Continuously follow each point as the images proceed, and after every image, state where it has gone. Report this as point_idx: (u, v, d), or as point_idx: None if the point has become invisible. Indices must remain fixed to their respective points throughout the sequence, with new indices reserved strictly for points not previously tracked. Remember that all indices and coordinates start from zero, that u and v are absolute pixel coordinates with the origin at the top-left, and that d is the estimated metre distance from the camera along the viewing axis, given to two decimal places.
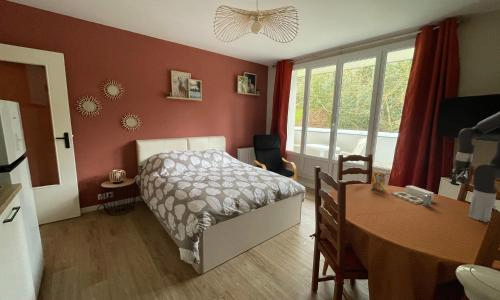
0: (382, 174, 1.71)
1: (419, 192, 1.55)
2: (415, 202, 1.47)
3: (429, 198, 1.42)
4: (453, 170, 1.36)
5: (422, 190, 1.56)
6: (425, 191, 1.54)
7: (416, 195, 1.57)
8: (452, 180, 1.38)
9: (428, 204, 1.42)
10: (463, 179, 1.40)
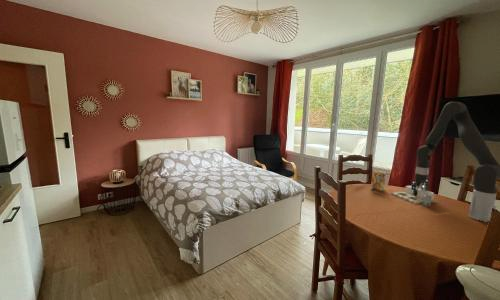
0: (382, 174, 1.71)
1: (419, 192, 1.55)
2: (415, 202, 1.47)
3: (429, 198, 1.42)
4: (413, 183, 1.56)
5: (422, 190, 1.56)
6: (425, 191, 1.54)
7: None
8: (414, 191, 1.58)
9: (428, 204, 1.42)
10: None
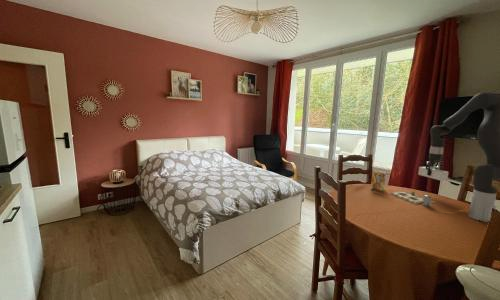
0: (382, 174, 1.71)
1: (433, 172, 1.56)
2: (415, 202, 1.47)
3: (429, 198, 1.42)
4: (427, 163, 1.56)
5: (436, 170, 1.56)
6: (439, 170, 1.54)
7: None
8: (428, 171, 1.58)
9: (428, 204, 1.42)
10: None
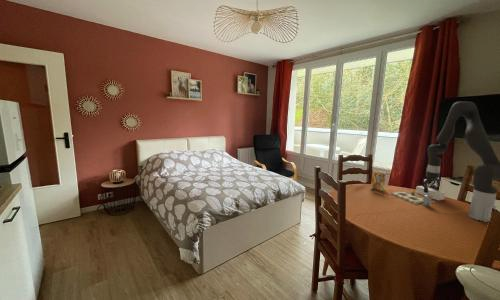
0: (382, 174, 1.71)
1: (430, 192, 1.58)
2: (415, 202, 1.47)
3: (429, 198, 1.42)
4: (424, 180, 1.58)
5: (433, 190, 1.59)
6: (436, 191, 1.57)
7: None
8: (424, 189, 1.60)
9: (428, 204, 1.42)
10: (434, 188, 1.62)
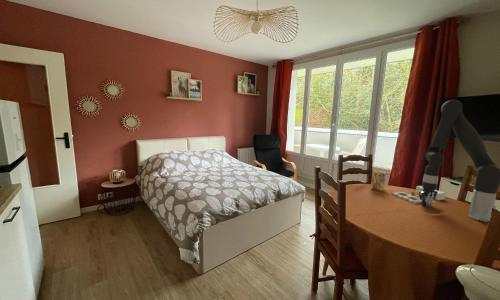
0: (382, 174, 1.71)
1: None
2: (415, 202, 1.47)
3: (429, 198, 1.42)
4: (420, 193, 1.41)
5: None
6: None
7: None
8: (422, 202, 1.43)
9: (428, 204, 1.42)
10: None
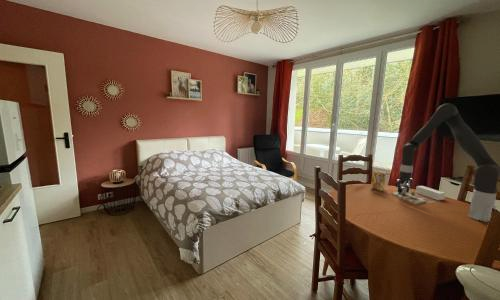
0: (382, 174, 1.71)
1: (430, 192, 1.58)
2: (415, 202, 1.47)
3: (404, 189, 1.58)
4: (397, 180, 1.57)
5: (433, 190, 1.59)
6: (436, 191, 1.57)
7: (427, 195, 1.61)
8: (398, 189, 1.59)
9: (403, 195, 1.58)
10: (407, 188, 1.60)
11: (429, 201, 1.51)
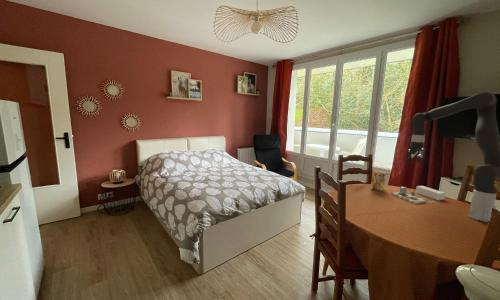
0: (382, 174, 1.71)
1: (430, 192, 1.58)
2: (415, 202, 1.47)
3: (404, 189, 1.58)
4: (408, 150, 1.55)
5: (433, 190, 1.59)
6: (436, 191, 1.57)
7: (427, 195, 1.61)
8: (408, 159, 1.57)
9: (403, 195, 1.58)
10: (419, 159, 1.59)
11: (429, 201, 1.51)
